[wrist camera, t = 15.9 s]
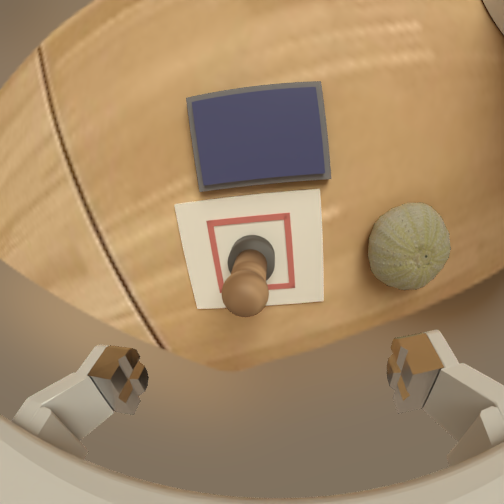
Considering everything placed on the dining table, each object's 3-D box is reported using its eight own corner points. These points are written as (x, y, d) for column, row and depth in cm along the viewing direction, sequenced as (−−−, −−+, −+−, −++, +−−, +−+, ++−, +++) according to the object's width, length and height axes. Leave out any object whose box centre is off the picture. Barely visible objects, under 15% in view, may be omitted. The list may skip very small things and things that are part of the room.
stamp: (272, 232, 27) (270, 276, 19) (276, 273, 29) (276, 328, 20) (227, 236, 28) (206, 280, 19) (234, 277, 29) (218, 331, 21)
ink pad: (319, 83, 22) (321, 80, 20) (329, 177, 25) (332, 179, 24) (189, 99, 23) (184, 97, 22) (202, 190, 26) (198, 192, 25)
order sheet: (319, 188, 25) (320, 189, 25) (323, 299, 30) (323, 301, 30) (175, 204, 27) (173, 205, 27) (198, 307, 32) (197, 309, 31)
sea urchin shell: (361, 204, 24) (445, 219, 18) (393, 191, 28) (458, 203, 23) (357, 292, 27) (427, 317, 21) (388, 265, 32) (446, 283, 26)
